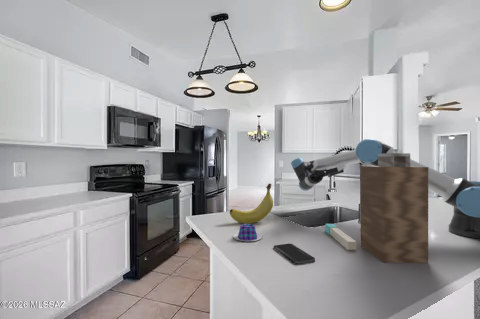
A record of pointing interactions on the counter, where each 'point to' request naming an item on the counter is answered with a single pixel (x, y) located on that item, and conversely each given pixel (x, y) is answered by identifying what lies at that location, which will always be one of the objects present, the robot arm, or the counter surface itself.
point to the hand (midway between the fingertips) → (330, 163)
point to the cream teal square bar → (340, 236)
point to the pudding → (247, 233)
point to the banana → (257, 212)
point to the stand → (395, 210)
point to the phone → (294, 254)
